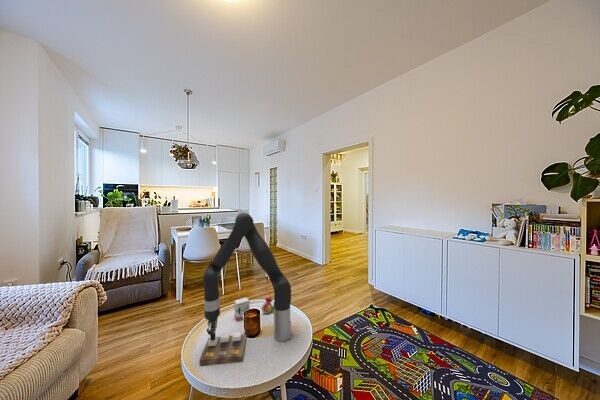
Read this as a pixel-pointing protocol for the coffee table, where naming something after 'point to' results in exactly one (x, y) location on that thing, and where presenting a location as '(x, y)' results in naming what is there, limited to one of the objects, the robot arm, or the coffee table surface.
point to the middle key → (225, 337)
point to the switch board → (223, 352)
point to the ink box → (241, 308)
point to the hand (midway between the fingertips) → (213, 339)
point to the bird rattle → (265, 306)
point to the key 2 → (236, 336)
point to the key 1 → (213, 342)
